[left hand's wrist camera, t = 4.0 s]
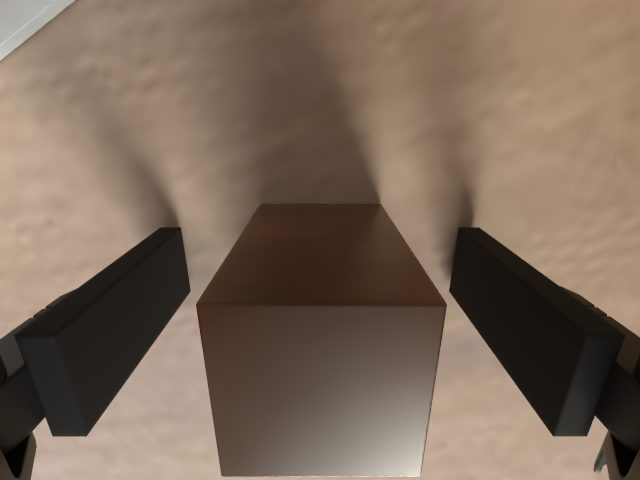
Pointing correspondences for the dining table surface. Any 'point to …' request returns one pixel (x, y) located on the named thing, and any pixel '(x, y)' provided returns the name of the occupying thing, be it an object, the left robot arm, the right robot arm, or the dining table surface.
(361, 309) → the block
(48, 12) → the tray
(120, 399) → the dining table surface
